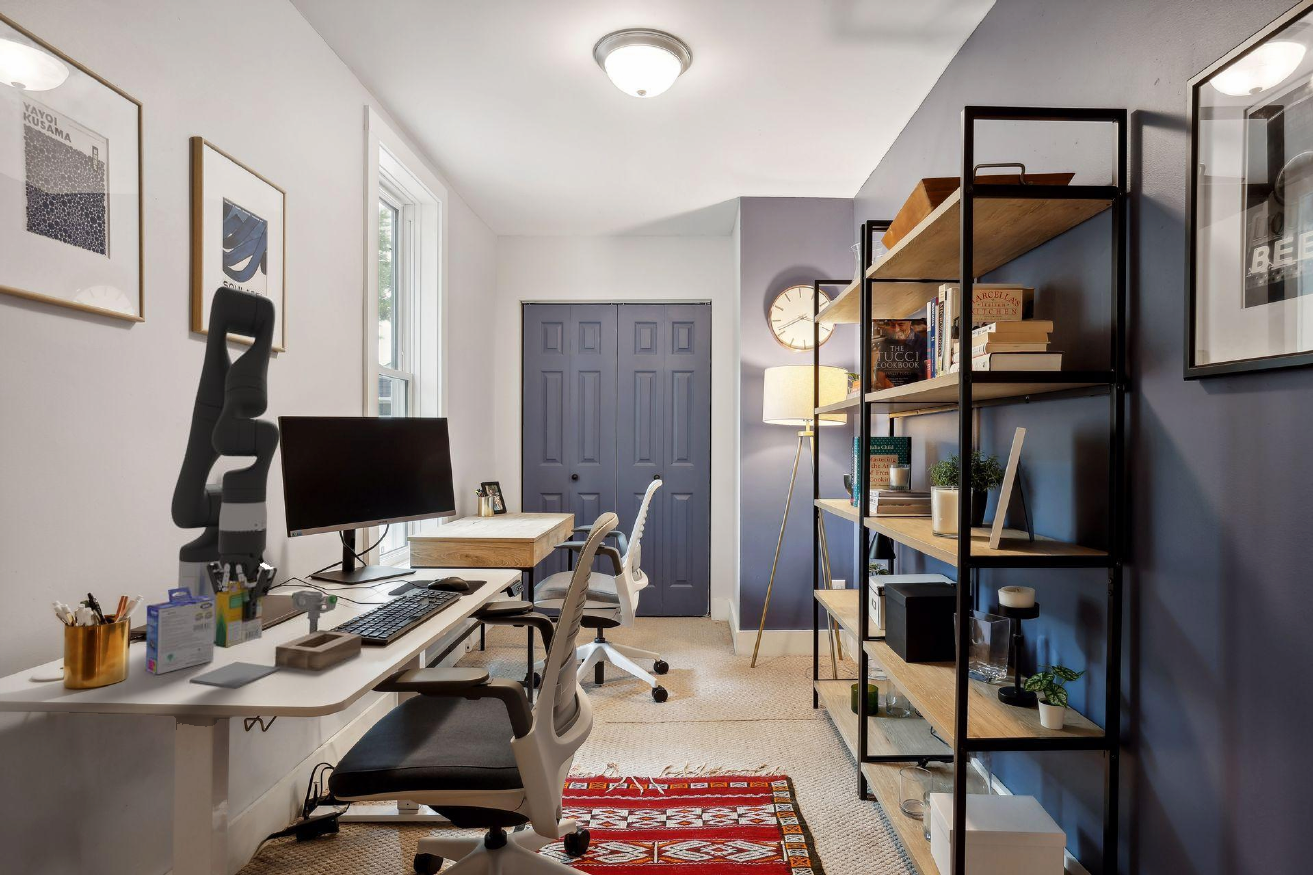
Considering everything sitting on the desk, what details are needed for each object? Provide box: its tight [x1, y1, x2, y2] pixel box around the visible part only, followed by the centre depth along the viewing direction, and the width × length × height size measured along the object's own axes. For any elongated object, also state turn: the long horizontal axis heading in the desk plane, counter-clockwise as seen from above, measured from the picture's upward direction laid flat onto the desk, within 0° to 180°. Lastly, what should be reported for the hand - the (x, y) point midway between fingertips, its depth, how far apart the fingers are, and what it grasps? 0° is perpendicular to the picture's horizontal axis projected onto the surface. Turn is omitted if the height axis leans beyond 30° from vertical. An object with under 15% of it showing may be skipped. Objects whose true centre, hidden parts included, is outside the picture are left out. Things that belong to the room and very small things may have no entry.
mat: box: [189, 661, 281, 689], centre depth 123 cm, size 10×10×1 cm
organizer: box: [274, 629, 362, 671], centre depth 134 cm, size 10×12×4 cm
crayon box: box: [215, 581, 264, 649], centre depth 123 cm, size 7×3×12 cm, turn 161°
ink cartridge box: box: [145, 587, 215, 675], centre depth 127 cm, size 10×6×14 cm, turn 149°
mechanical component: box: [291, 589, 339, 634], centre depth 146 cm, size 3×10×10 cm, turn 79°
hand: (239, 619), depth 123 cm, fingers closed on crayon box, 3 cm apart
